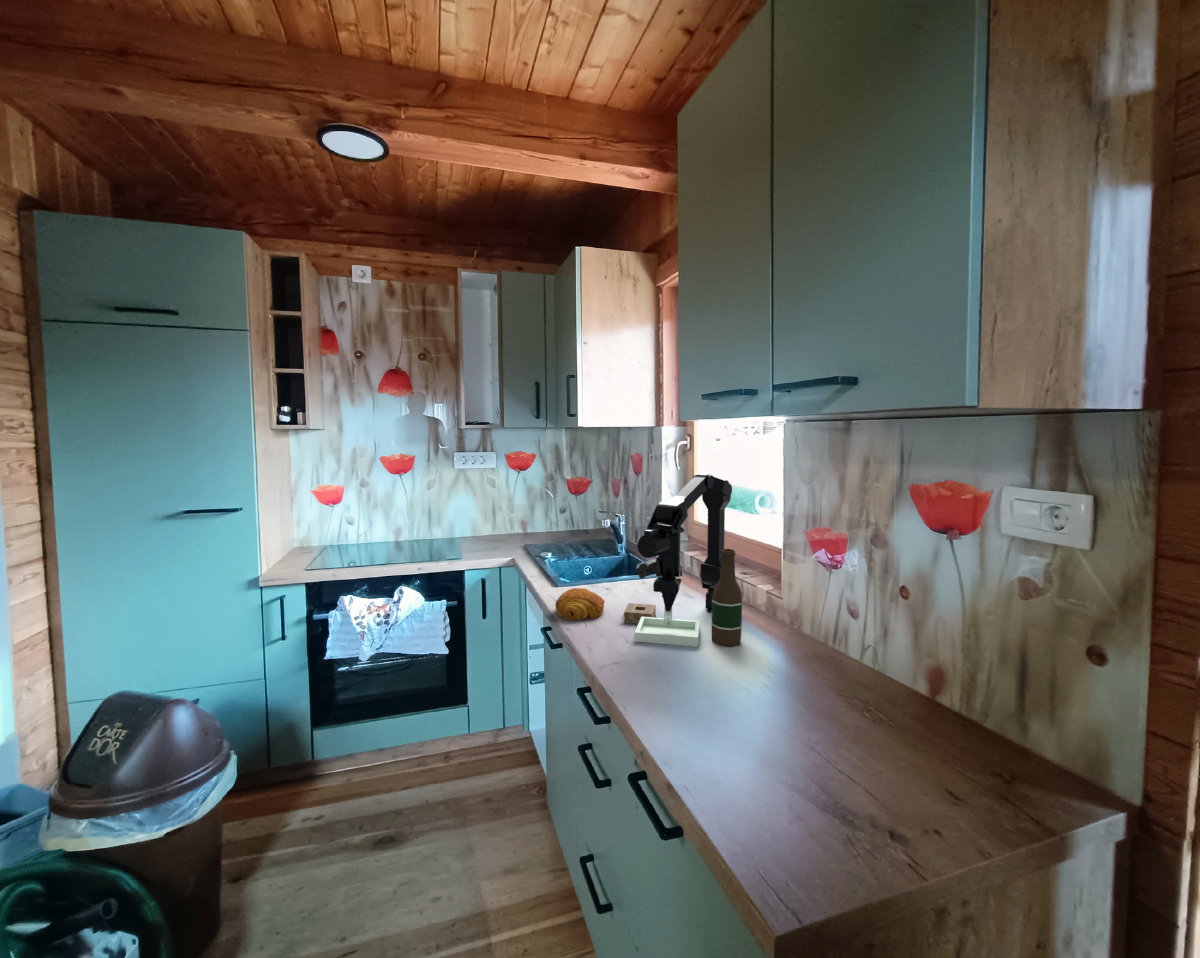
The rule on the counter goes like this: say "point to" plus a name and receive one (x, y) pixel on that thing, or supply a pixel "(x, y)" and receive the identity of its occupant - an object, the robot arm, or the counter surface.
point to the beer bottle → (727, 604)
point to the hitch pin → (667, 617)
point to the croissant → (579, 604)
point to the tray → (668, 631)
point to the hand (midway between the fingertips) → (668, 609)
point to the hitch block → (638, 612)
